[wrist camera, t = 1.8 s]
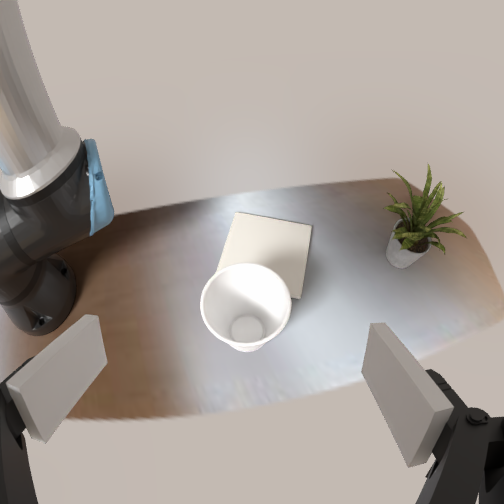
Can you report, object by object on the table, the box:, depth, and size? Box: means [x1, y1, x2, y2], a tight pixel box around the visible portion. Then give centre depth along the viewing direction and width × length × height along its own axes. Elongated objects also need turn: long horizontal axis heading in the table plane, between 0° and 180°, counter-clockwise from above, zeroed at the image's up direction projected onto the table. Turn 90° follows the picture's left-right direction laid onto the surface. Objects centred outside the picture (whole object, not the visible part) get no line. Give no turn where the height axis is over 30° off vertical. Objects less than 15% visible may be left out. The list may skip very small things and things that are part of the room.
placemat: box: [216, 212, 312, 299], centre depth 49 cm, size 13×13×1 cm
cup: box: [200, 262, 292, 352], centre depth 38 cm, size 10×10×11 cm
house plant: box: [383, 164, 466, 269], centre depth 43 cm, size 14×14×16 cm
